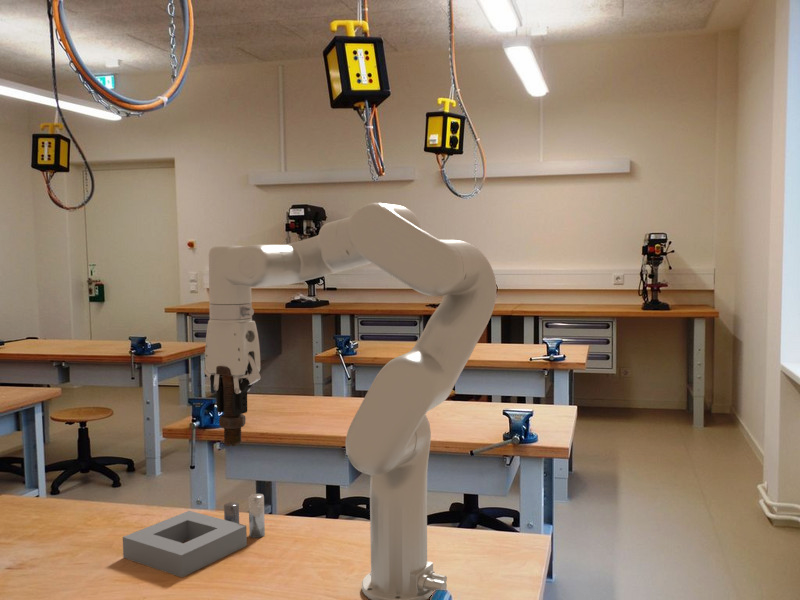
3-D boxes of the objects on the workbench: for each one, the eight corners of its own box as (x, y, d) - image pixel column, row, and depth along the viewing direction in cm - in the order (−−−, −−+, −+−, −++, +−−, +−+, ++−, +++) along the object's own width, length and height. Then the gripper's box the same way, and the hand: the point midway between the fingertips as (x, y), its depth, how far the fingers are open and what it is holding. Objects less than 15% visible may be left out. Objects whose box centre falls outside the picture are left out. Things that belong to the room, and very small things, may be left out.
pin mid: (267, 534, 147) (267, 495, 146) (257, 539, 144) (256, 499, 143) (256, 531, 148) (255, 492, 148) (246, 536, 146) (245, 497, 145)
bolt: (211, 446, 133) (210, 365, 132) (229, 439, 138) (228, 361, 137) (235, 450, 131) (234, 367, 130) (253, 443, 135) (253, 363, 134)
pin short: (242, 527, 150) (241, 503, 150) (232, 532, 148) (231, 508, 147) (232, 524, 152) (231, 501, 152) (221, 529, 149) (220, 505, 149)
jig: (246, 545, 141) (246, 525, 140) (182, 577, 127) (181, 555, 127) (189, 529, 149) (189, 510, 149) (123, 557, 136) (122, 536, 136)
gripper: (278, 314, 131) (279, 414, 133) (214, 309, 140) (215, 403, 141) (249, 317, 125) (250, 422, 126) (183, 312, 134) (185, 410, 135)
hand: (232, 411), depth 134 cm, fingers closed on bolt, 3 cm apart
